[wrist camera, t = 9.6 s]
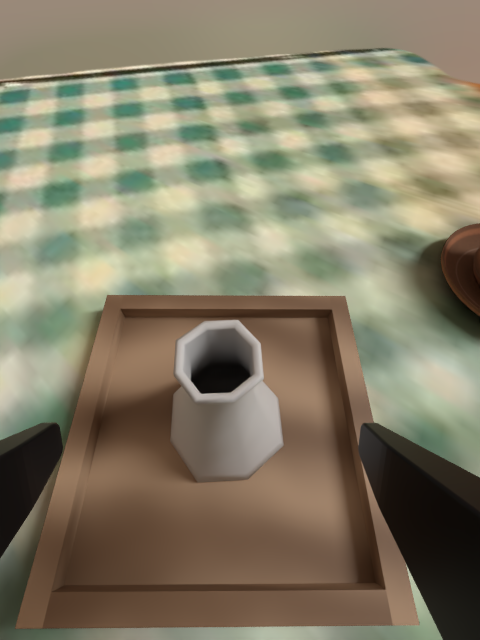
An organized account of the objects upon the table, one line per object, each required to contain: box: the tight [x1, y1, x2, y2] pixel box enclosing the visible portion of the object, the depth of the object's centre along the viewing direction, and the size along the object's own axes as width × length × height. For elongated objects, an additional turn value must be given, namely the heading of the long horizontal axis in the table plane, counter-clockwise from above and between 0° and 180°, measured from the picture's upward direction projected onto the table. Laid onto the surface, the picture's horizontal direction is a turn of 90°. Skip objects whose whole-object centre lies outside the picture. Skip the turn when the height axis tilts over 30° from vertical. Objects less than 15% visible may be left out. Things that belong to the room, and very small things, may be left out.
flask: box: [170, 320, 284, 483], centre depth 14 cm, size 7×7×10 cm
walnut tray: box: [15, 295, 419, 629], centre depth 18 cm, size 18×18×2 cm
